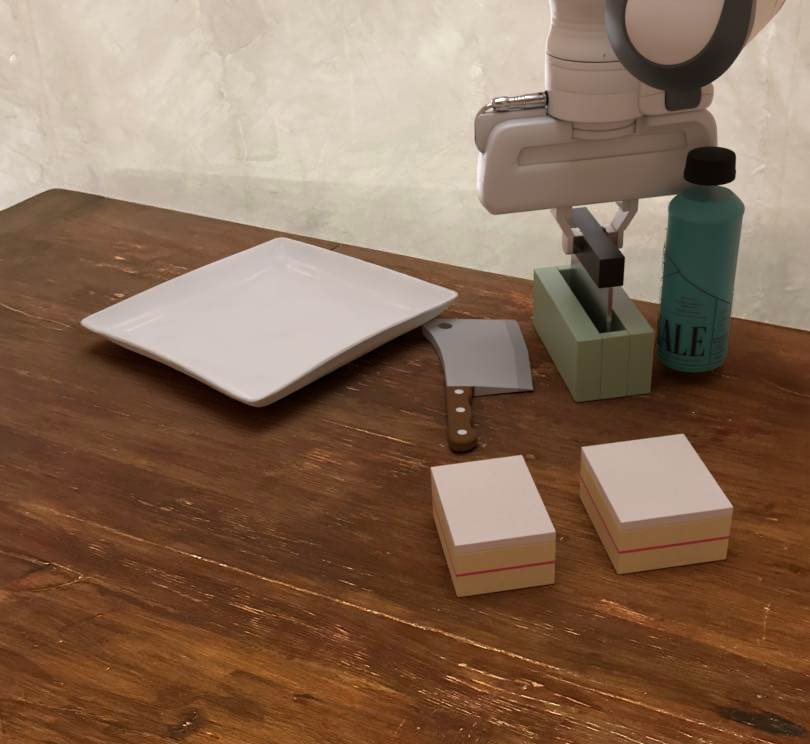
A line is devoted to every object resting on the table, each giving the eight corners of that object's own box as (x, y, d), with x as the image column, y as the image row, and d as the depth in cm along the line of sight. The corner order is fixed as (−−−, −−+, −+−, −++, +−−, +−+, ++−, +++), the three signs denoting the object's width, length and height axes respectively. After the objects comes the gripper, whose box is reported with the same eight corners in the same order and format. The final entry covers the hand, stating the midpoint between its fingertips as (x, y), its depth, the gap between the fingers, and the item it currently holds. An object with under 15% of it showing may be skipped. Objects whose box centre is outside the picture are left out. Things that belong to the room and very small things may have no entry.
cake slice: (522, 504, 87) (522, 454, 84) (555, 584, 79) (556, 531, 76) (432, 516, 87) (430, 466, 84) (456, 598, 79) (454, 545, 76)
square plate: (464, 324, 113) (463, 288, 110) (258, 438, 97) (251, 399, 95) (285, 261, 128) (280, 228, 126) (82, 351, 113) (73, 315, 111)
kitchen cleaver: (546, 441, 93) (425, 441, 93) (545, 452, 93) (425, 452, 93) (522, 315, 112) (422, 315, 112) (521, 324, 113) (422, 325, 113)
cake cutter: (581, 322, 110) (586, 206, 103) (617, 379, 101) (625, 257, 94) (559, 324, 110) (562, 209, 103) (593, 382, 100) (599, 259, 94)
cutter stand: (599, 317, 112) (602, 260, 109) (650, 393, 100) (655, 331, 96) (532, 325, 112) (533, 268, 108) (575, 402, 99) (577, 341, 96)
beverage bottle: (721, 354, 105) (748, 136, 93) (730, 389, 99) (759, 163, 87) (650, 354, 105) (667, 138, 93) (655, 389, 100) (674, 165, 88)
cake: (678, 483, 88) (683, 432, 86) (726, 559, 80) (734, 506, 77) (578, 496, 88) (580, 446, 85) (617, 575, 80) (620, 522, 77)
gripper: (481, 110, 88) (484, 277, 96) (733, 84, 89) (715, 250, 98) (465, 89, 93) (469, 249, 101) (705, 64, 94) (689, 224, 103)
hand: (592, 249), depth 99 cm, fingers closed on cake cutter, 2 cm apart
